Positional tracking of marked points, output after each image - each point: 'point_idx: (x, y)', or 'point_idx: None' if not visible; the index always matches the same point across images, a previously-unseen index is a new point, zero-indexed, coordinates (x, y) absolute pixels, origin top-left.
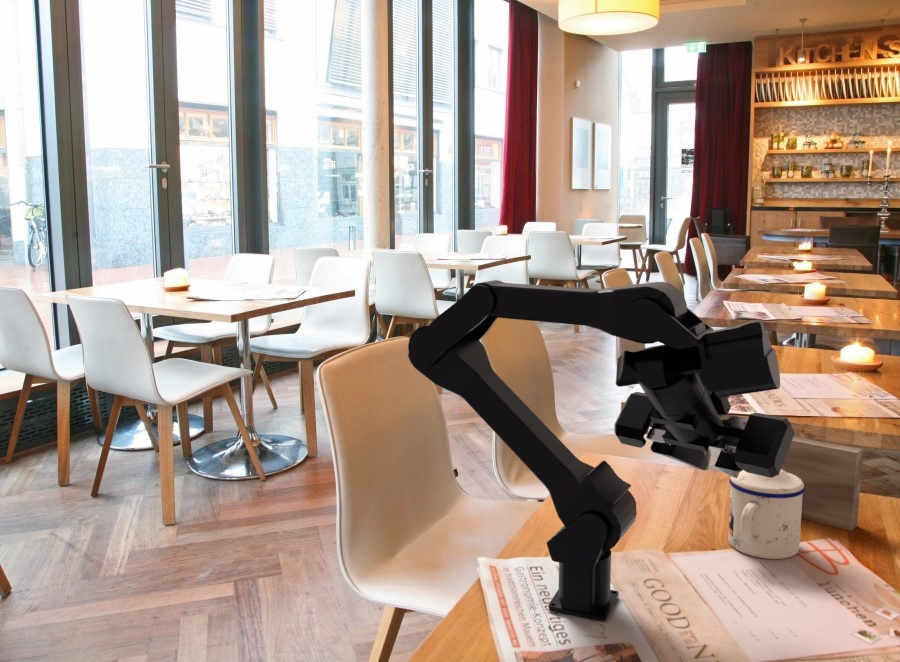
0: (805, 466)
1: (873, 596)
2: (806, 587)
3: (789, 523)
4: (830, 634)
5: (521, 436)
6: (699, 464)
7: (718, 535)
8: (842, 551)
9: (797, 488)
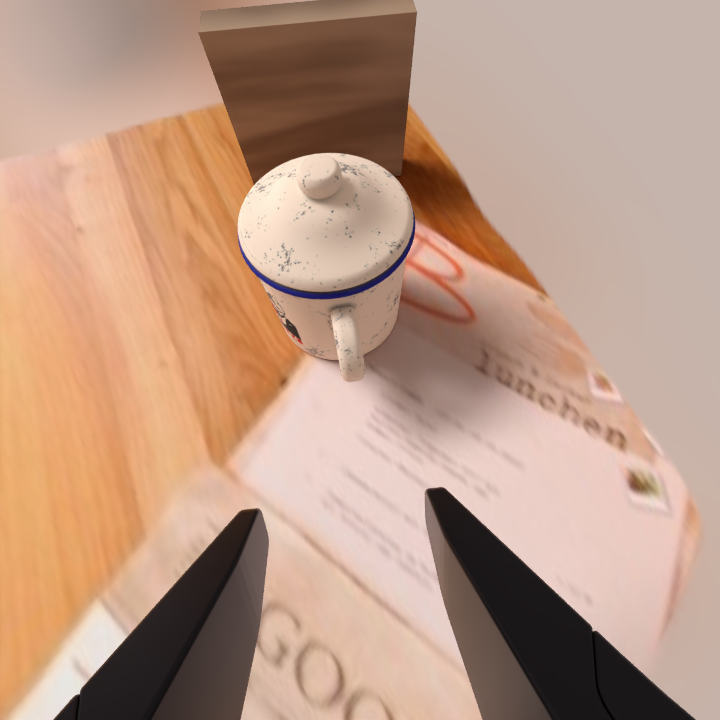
0: (315, 86)
1: (556, 346)
2: (477, 397)
3: (400, 286)
4: (615, 538)
5: None
6: (250, 631)
7: (261, 325)
8: (432, 241)
9: (411, 217)
